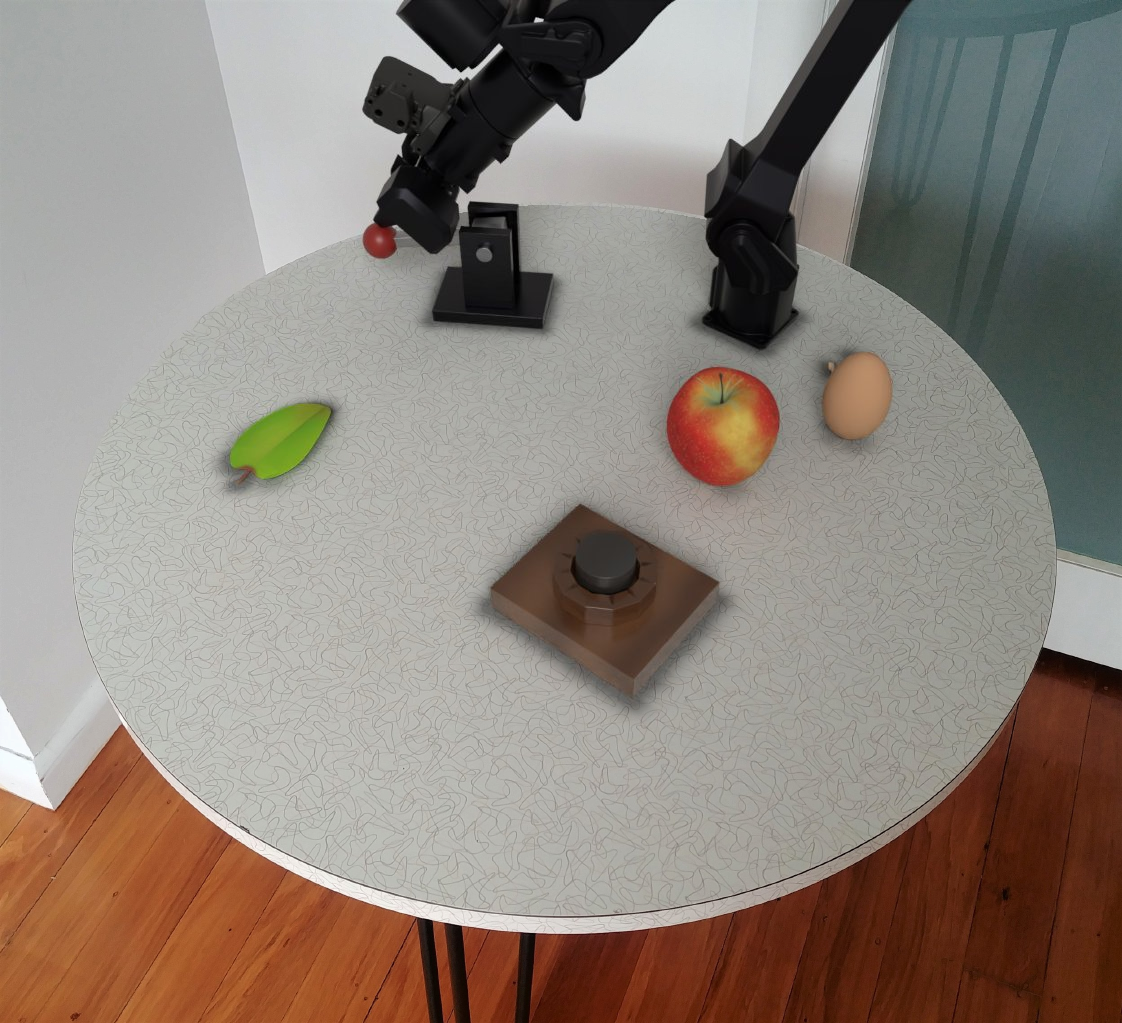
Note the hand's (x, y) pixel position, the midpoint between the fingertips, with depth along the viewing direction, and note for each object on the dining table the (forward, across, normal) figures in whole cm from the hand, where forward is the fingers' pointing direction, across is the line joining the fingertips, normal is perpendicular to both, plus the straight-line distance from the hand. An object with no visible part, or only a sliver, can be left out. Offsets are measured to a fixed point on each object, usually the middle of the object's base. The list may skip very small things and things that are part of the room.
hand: (377, 222), depth 93 cm
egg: (-24, +14, +35) cm, 44 cm away
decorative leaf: (+8, +21, +3) cm, 23 cm away
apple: (-16, +20, +27) cm, 37 cm away
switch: (-2, 0, +6) cm, 6 cm away
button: (-14, +34, +19) cm, 41 cm away
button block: (-11, +34, +22) cm, 42 cm away
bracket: (-2, 0, +12) cm, 13 cm away
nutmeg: (-24, +6, +35) cm, 43 cm away
